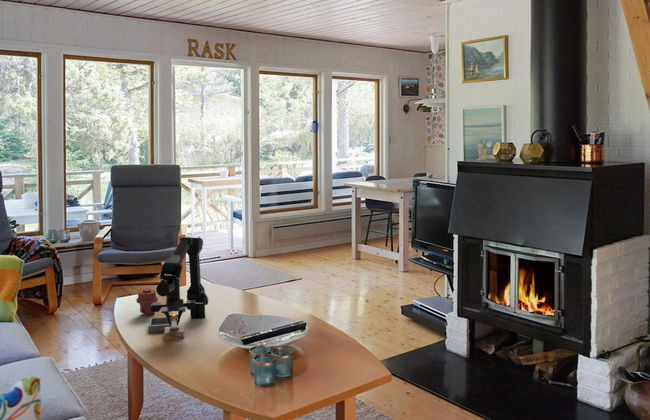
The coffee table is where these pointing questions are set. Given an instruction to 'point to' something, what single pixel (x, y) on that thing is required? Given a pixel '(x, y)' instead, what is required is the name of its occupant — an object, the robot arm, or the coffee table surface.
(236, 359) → the coffee table surface
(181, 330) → the block
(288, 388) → the coffee table surface
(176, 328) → the lock pin
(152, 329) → the tray
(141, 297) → the mechanical component
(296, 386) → the coffee table surface
